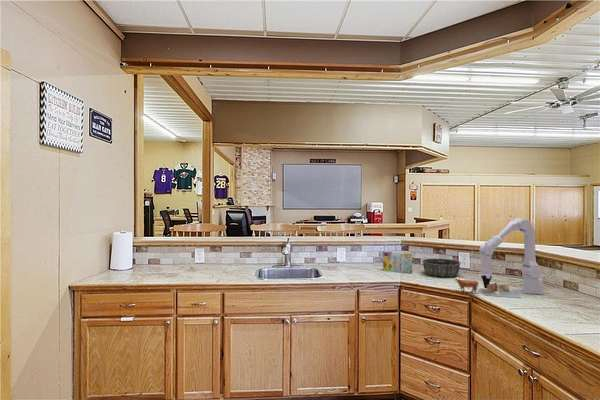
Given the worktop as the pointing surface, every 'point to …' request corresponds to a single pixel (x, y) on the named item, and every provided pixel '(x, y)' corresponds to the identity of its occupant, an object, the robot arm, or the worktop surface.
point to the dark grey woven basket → (441, 267)
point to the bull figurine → (466, 284)
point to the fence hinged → (490, 287)
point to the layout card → (501, 293)
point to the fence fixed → (501, 287)
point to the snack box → (397, 262)
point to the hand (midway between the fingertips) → (486, 288)
